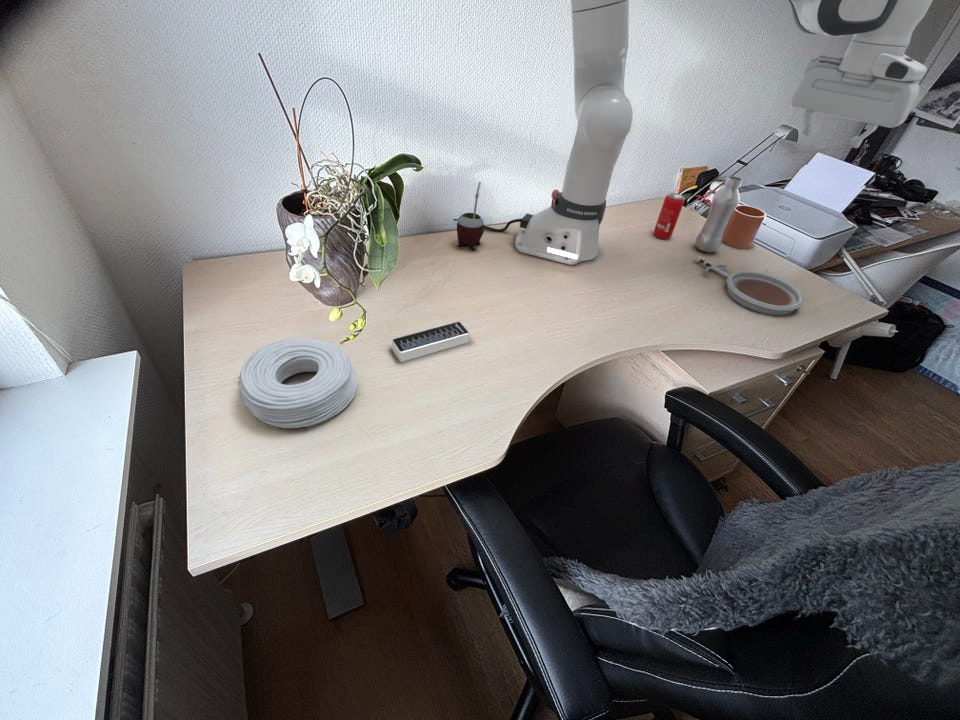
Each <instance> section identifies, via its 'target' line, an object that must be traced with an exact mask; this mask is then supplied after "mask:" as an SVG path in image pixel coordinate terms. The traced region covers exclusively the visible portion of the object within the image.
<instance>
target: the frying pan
mask: <svg viewBox="0 0 960 720" xmlns="http://www.w3.org/2000/svg"><path fill="white" fill-rule="evenodd" d="M695 262H696V263H697V264H699V263H700V264H702V265H704V266H705V267H706V269H705V273H704V274H705V275H707V274H708V272H709V271H710V270H713V271H715V272H717V273H719V274H720V275H722V276H724V277H726V278H727V279H726V284H727V287H726V291H727V294H728V295H729V296H730V297H731V298H732V300H734V301H736V302H737V303H738V304H740V305H741V306H743V307H745V308H748V309H750V310H752V311H755V312H758V313H761V314H766V315H771V316H785V315H790V314H791V313H793V312H794V311H795V310H797V309H799V308H800V307H801V306H802V305H803V295H802V294H801V292H800V291H799V290H798V289H797V288H796V287H795V286H793V285H792V284H790V283H789V282H787V281H785V280H783V279H781V278H779V277H776V276H774V275H771V274H767V273H763V272H759V271H753V270H752V271H751V270H750V271H749V270H742V271H736V272H734V273H732V274H730V273H729V272H726V271H724V270H722V268H723V269H726V268H727V266H728V265H727V264H724V263H717V264H714V265H713V264H711V263H709V262H708V261H705V260H704V259H703V258H702V256H698V257H697V256H696V258H695ZM720 268H721V269H720Z"/></svg>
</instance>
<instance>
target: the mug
mask: <svg viewBox="0 0 960 720" xmlns="http://www.w3.org/2000/svg"><path fill="white" fill-rule="evenodd" d="M766 217H767V213H766V212H765V211H764V210H762V209H760V208H758V207H755V206H752V205H746V204H738V205H737V207H736V208H735V210H734V211H733V213H732V215H731V217H730V219H729V221H728V223H727V225H726V227H725V230H724V233H723V236H722V241H721V243H723V244H726V246H729V247H732V248H736V249H743V250H745V249H749V248H751V247H752V245H753V244H754V241H755V239H756V238H757V235H758V233H759V231H760V229H761V227H762V225H763V223H764V221H765V219H766Z"/></svg>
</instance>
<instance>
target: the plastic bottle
mask: <svg viewBox="0 0 960 720" xmlns="http://www.w3.org/2000/svg"><path fill="white" fill-rule="evenodd" d="M742 183H743V178H741V177H739V176H737V175H728V176H727V178H726V179H725V181H724V186H722V187H721V188H719V189H718V190H717V191H716V192H715V193H714V194H713V196H712V199H711V204H710V208H709V211H708V215H707V217H706V220H705V222H704V224H703V226H702V228H701V230H700V231H699V232H698V234H697V235H696V238H695V247H696V248H697V249H698V250H700V251H702V252H705V253H714V252H716V251H717V250H719V248H720V247H721V246H722V245H721V244H722V236H723V233H724V230H725V227H726V225H727V223H728V221H729V219H730V217H731V215H732V213H733V211H734V210H735V208H736V207H737V205H739V203H740V199H741V197H740V192H739V189H740V188H741V185H742Z"/></svg>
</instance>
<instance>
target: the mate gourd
mask: <svg viewBox="0 0 960 720" xmlns="http://www.w3.org/2000/svg"><path fill="white" fill-rule="evenodd" d="M481 184H482V182H481V181H479V182H478V184H477V188H476V193H475V195H474V198H475V200H474V206H473V207H474V208H473V212H464V213H462V214H461V215H460V217H459V218H458V219H457V223H456V234H457V241H458V244H457V247H458V248H459V249H460V248H469V249H470V251H472V252H475V251H476V248H475V247H476V246H480V245H481V242H480V241H481V239H482V237H483V235H484V231H485V229H484V226H485V224H484V223H485V222H484V220H483V217H482V216H481V215H480V214H478V213H477V209H478V208H477V207H478V200H479V196H480V194H479V193H480V188H481Z"/></svg>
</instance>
